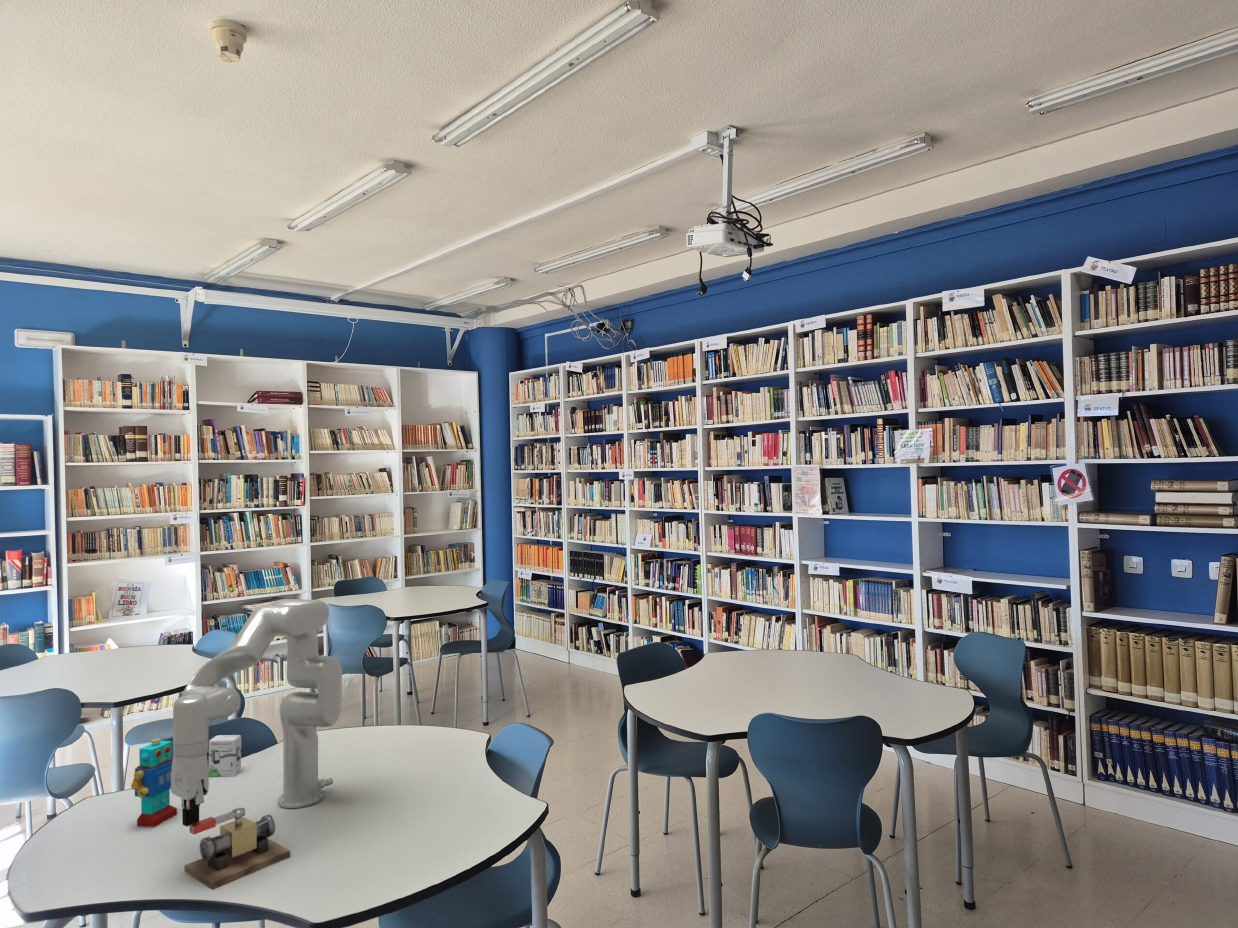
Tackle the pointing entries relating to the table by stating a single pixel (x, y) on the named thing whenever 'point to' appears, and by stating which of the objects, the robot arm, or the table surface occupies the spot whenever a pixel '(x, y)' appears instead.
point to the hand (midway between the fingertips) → (190, 823)
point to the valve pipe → (237, 840)
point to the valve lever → (215, 821)
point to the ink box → (224, 755)
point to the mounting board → (236, 865)
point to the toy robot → (154, 783)
